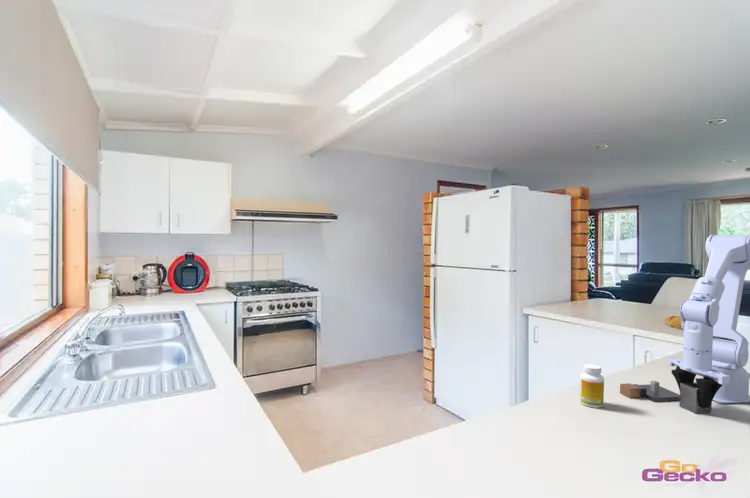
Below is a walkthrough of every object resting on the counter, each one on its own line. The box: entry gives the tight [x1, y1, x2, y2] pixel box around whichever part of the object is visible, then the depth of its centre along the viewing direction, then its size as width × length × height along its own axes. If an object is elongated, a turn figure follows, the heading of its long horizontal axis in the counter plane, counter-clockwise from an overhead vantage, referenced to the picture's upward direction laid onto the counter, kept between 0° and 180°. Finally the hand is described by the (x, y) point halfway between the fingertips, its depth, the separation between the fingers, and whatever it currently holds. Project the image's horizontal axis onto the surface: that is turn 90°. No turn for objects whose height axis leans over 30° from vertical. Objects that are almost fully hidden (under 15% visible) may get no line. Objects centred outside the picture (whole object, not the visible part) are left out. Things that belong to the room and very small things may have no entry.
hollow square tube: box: [679, 381, 713, 415], centre depth 100 cm, size 4×4×6 cm
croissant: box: [664, 315, 684, 331], centre depth 198 cm, size 21×10×8 cm, turn 6°
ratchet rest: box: [619, 380, 680, 403], centre depth 110 cm, size 14×9×4 cm, turn 99°
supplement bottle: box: [578, 363, 605, 409], centre depth 103 cm, size 5×5×10 cm
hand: (695, 403), depth 101 cm, fingers closed on hollow square tube, 4 cm apart
